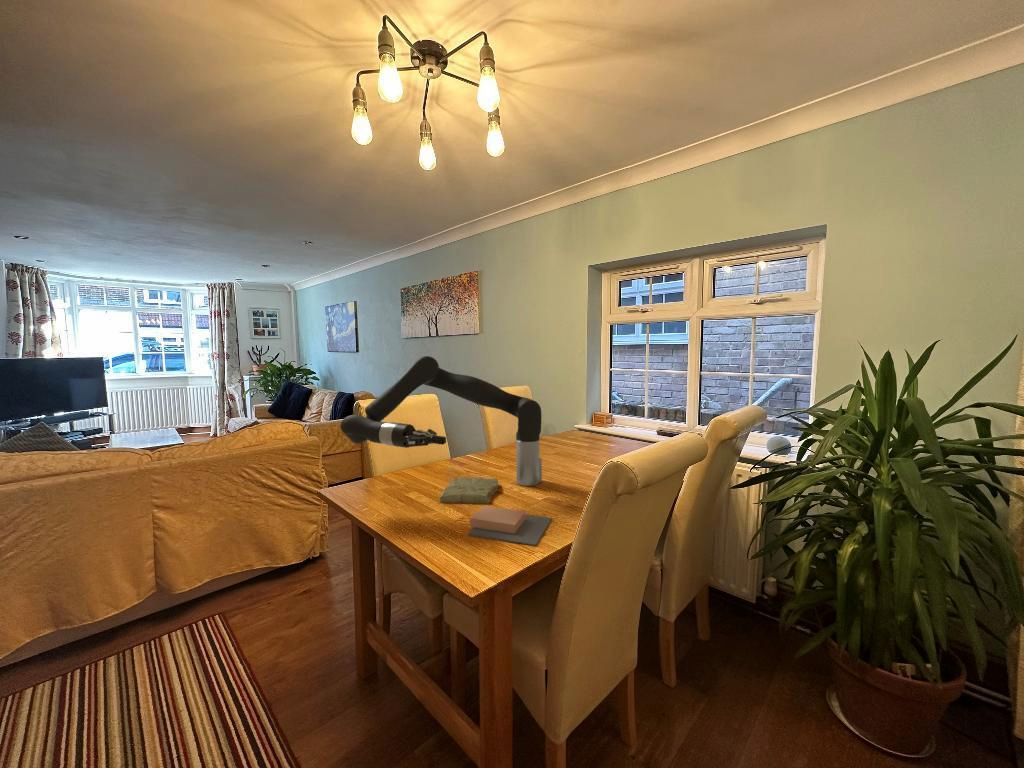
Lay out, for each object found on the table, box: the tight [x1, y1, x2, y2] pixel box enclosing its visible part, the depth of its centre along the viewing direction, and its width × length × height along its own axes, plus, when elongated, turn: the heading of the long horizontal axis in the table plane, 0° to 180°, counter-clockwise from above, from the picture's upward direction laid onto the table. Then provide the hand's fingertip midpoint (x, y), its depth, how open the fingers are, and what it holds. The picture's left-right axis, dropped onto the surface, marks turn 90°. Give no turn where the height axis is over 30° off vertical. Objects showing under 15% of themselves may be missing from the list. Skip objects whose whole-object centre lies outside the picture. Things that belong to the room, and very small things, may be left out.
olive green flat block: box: [439, 476, 500, 504], centre depth 148 cm, size 19×20×4 cm
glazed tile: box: [469, 505, 527, 534], centre depth 121 cm, size 3×10×14 cm
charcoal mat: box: [467, 514, 553, 547], centre depth 119 cm, size 20×18×1 cm
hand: (444, 440), depth 125 cm, fingers closed
